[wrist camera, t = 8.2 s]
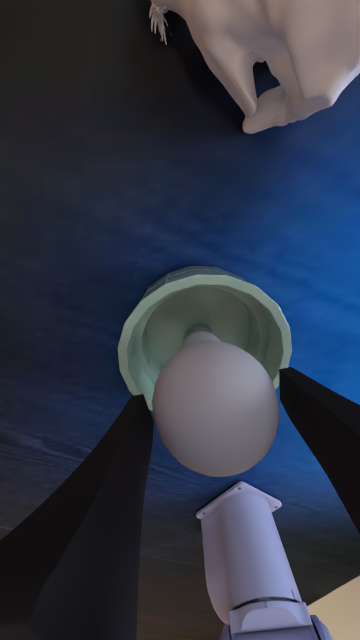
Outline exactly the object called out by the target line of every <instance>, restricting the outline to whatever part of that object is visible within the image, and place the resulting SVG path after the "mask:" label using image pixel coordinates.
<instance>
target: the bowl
mask: <svg viewBox="0 0 360 640" xmlns="http://www.w3.org/2000/svg"><path fill="white" fill-rule="evenodd" d="M197 324H202V325H206V326H208V327H209V328H210V329H211V330H212V332H213V333H214V335H215V336H216V337H218V338H219V340H220V341H221V342H224V343H228V344H231V345H234V346H237V347H239V348H241V349H243V350H244V351H246V352H247V353H249V354H250V355H251V356H253V357H254V358H255V359H256V360H257V361H258V362H259V363H260V364H261V365H262V366H263V367H264V369H265V370H266V372H267V373H268V375H269V377H270V378H271V380H272V382H273V385H274V388H275V390H276V389H277V387H278V386H279V369H282V368H288V365H289V361H290V357H291V354H292V345H291V335H290V328H289V325H288V323H287V321H286V319H285V317H284V315H283V313H282V311H281V309H280V307H279V305H277V303H276V302H275V301H273V300H272V299H271V298H270V297H269V296H268V295H266V294H265V293H264V292H263V291H262V290H261V289H260V288H258V287H257V286H255V285H254V284H252V283H250V282H248V281H247V280H245V279H243V278H241V277H240V276H238V275H236V274H234V273H231V272H228V271H226V270H223V269H220V268H218V267H214V266H192V267H191V266H189V267H186V268H183V269H179V270H176V271H173V272H170V273H168V274H166V275H165V276H163V277H162V278H160V279H159V280H158V281H156V282H155V283H153V284H152V285H151V286H150V287H149V288H148V289H147V291H146V292H145V293H144V295H143V296H142V298H141V299H140V300H139V302H138V303H137V305H136V306H135V308H134V309H133V311H132V312H131V314H130V315H129V317H128V319H127V320H126V322H125V324H124V326H123V330H122V334H121V337H120V341H119V344H118V357H119V367H120V372H121V374H122V376H123V378H124V381H125V383H126V385H127V387H128V389H129V391H130V392H131V393H132V394H133V395H140V394H144V397H145V400H146V402H147V405H148V408H149V410H151V411H153V405H152V399H153V393H154V387H155V383H156V381H157V379H158V376H159V374H160V372H161V370H162V368H163V367H164V366H165V364H166V363H167V362H168V360H169V359H170V358H172V357H173V356H174V355H175V354H176V353H177V352H179V351H180V350H181V346H182V344H183V342H184V335H185V333H186V331H187V329H189V328H190V327H191V326H193V325H197Z"/></svg>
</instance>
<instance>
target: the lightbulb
mask: <svg viewBox="0 0 360 640" xmlns="http://www.w3.org/2000/svg"><path fill="white" fill-rule="evenodd" d="M152 405H153V417H154V422H155V425H156V428H157V431H158V434H159V437H160V438H161V440H162V441H163V443H164V444H165V446H166V448H167V449H168V451H169V452H170V453H171V454H172V455H173V456H174V457H175V458H176V459H177V460H178V461H179V462H180V463H181V464H182V465H184V466H185V467H187V468H189V469H191V470H193V471H196V472H198V473H201V474H204V475H207V476H214V477H226V476H233V475H236V474H240V473H242V472H244V471H247V470H248V469H250V468H252V467H253V466H254V465H255V464H256V463H258V462H259V461H260V460H261V459H262V458H263V457H264V456H265V455H266V454H267V452H268V451H269V449H270V447H271V445H272V443H273V441H274V439H275V436H276V432H277V428H278V423H279V403H278V397H277V394H276V391H275V388H274V385H273V382H272V380H271V378H270V377H269V375H268V373H267V372H266V370H265V369H264V367H263V366H262V365H261V364H260V363H259V362H258V361H257V360H256V359H255V358H254V357H253V356H251V355H250V354H249V353H247V352H246V351H244V350H243V349H241V348H239V347H237V346H234V345H231V344H228V343H224V342H221V341H220V340H219V338H218V337H216V336H215V335H214V333H213V332H212V330H211V329H210V328H209V327H208V326H206V325H202V324H197V325H193V326H191V327H190V328H189V329H187V331H186V333H185V335H184V342H183V344H182V346H181V350H180V351H179V352H177V353H176V354H175V355H174V356H173V357H172V358H170V359H169V360H168V362H167V363H166V364H165V366H164V367H163V368H162V370H161V372H160V374H159V376H158V379H157V381H156V383H155V387H154V393H153V399H152Z"/></svg>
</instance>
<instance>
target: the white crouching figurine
mask: <svg viewBox="0 0 360 640" xmlns="http://www.w3.org/2000/svg"><path fill="white" fill-rule="evenodd" d="M151 2H152V5H151V7H150V14H149V16H151V14H152V12H153V14H152V19H151V30H152V28H153V21H154V22H155V23H154V29H155V33H156V25H157V22H158V28H159V26H160V30H159V32H161V37H162V41H163V35H164V40H165V43H166V36H165V31H164V28H165V27H164V25H163V19H165V18H163V17H164V15H163V13H167V12H168V10H171V11H173V12H176V13H178V14H179V15H180V16H181V17H182V18H183V19H184V20H185V21H186V22H187V25H188V27H189V30H190V33H191V35H192V38H193V40H194V42H195V44H196V45H197V47H198V48H199V49H200V51H201V53H202V55H203V57H204V60H205V62H206V64H207V65H208V67H209V69H210V70H211V71H212V73H213V74H214V75H215V76H216V77H217V78H218V79H219V81H220V82H221V83H222V84H223V86H224V87H225V88H226V90H227V91H228V92H229V94H230V95H231V97H232V98H233V99H234V101H235V102H236V103H237V104H238V105H239V107H240V108H241V109H242V111H243V112H244V114H245V119H244V121H243V131H244V132H245V133H248V134H253V133H256V132H259V131H262V130H265V129H267V128H270V127H273V126H285V125H287V124H288V123H293V122H295V121H297V120H304V119H306V118H307V117H309V116H310V115H311V114H313V113H315V112H317V111H319V110H322V109H325V108H328V107H330V106H332V105H333V104H334V102H335V101H336V100H337V98H338V96H339V95H340V93H341V92H342V91H343V89H344V88H345V87H346V86H347V85H348V84H349V83H350V82H351V81H352V80H353V79H354V78H355V77H356V76H357V75H358V74H359V73H360V0H151ZM164 21H165V22H166V20H164ZM166 24H167V22H166ZM167 26H168V24H167ZM165 29H166V28H165ZM162 32H163V34H162ZM167 32H168V31H167ZM170 33H171V32H170ZM171 35H172V34H171ZM160 39H161V38H160ZM166 45H167V43H166ZM257 61H258V62H260V63H262V62H264V61H266V62H267V64H268V66H269V69H270V71H271V74H272V75H273V76H275V77H276V78H277V79H278V81H279V83H280V85H281V86H278V87H276V88H273V89H270V90H268V91H266V92H264V93H263V94H262V95H261V96H260V97H259V98H258V99H257V96H256V91H255V83H254V76H253V65H254V64H255V63H256V62H257Z"/></svg>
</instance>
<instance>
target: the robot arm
mask: <svg viewBox="0 0 360 640" xmlns="http://www.w3.org/2000/svg"><path fill="white" fill-rule="evenodd" d="M279 384H280V400H281V402H282V404H283V406H284V408H285V410H286V412H287V414H288V416H289V418H290V420H291V421H292V423H293V424H294V426H295V427H296V429H297V430H298V432H299V433H300V435H301V436H302V438H303V439H304V441H305V442H306V444H307V445H308V447H309V448H310V450H311V451H312V453H313V454H314V456H315V457H316V459H317V460H318V462H319V463H320V465H321V466H322V468H323V470H324V471H325V473H326V474H327V476H328V478H329V479H330V481H331V483H332V485H333V486H334V488H335V490H336V492H337V494H338V495H339V497H340V499H341V501H342V502H343V504H344V506H345V508H346V510H347V512H348V514H349V515H350V517H351V519H352V521H353V523H354V525H355V526H356V528H357V530H358V532H359V534H360V405H358V404H356V403H354V402H352V401H350V400H348V399H347V398H345V397H343V396H341V395H339V394H337V393H335V392H334V391H332V390H330V389H328V388H326V387H325V386H323V385H321V384H319V383H318V382H316V381H314V380H313V379H311V378H309V377H307V376H306V375H304V374H302V373H301V372H299V371H297V370H296V369H294V368H292V367H288V368H282V369H279ZM152 442H153V419H152V416H151V413H150V411H149V408H148V405H147V402H146V400H145V397H144V394H140V395H134V396H132V397H131V399H130V400H129V402H128V403H127V404H126V406H125V407H124V409H123V410H122V412H121V413H120V415H119V416H118V417H117V419H116V420H115V422H114V423H113V424H112V426H111V427H110V429H109V430H108V431H107V433H106V434H105V435H104V436H103V438H102V439H101V440H100V442H99V443H98V444H97V445H96V447H95V448H94V449H93V450H92V452H91V453H90V454H89V455H88V456H87V458H86V459H85V460H84V461H83V462H82V463H81V464H80V466H79V467H78V468H77V469H76V470H75V471H74V472H73V473H72V474H71V475H70V476H69V477H68V478H67V479H66V480H65V481H64V482H63V483H62V484H61V485H60V486H59V488H58V489H57V490H56V491H55V492H54V493H53V494H52V495H51V496H50V497H49V498H48V499H46V500H45V501H44V502H43V503H42V504H41V505H40V506H39V507H38V508H37V509H36V510H35V511H34V512H33V513H31V514H30V515H29V516H28V517H27V518H26V519H25V520H24V521H23V522H21V523H20V524H19V525H18V526H17V527H16V528H15V529H13V530H12V531H11V532H10V533H9V534H8V535H6V536H5V537H4V538H3V539H2V540H0V640H136V630H137V598H138V577H139V557H140V541H141V526H142V513H143V502H144V494H145V487H146V481H147V474H148V468H149V462H150V455H151V449H152ZM281 506H282V504H281V501H279V500H277V499H275V498H273V497H272V496H270V495H268V494H266V493H264V492H262V491H260V490H258V489H256V488H254V487H252V486H251V485H249V484H247V483H245V482H243V481H240V482H238V483H237V484H235V485H234V486H232V487H231V488H230V489H228V490H227V491H226V492H224V493H223V494H221V495H220V496H219V497H217V498H216V499H215V500H213V501H212V502H210V503H209V504H208V505H206V506H205V507H203V508H202V509H201V510H199V511H198V512H197V513H196V517H197V518H199V519H201V527H202V539H203V551H204V563H205V575H206V584H207V589H208V593H209V596H210V600H211V602H212V605H213V607H214V610H215V612H216V613H217V615H218V616H219V618H220V619H221V620H222V621H223V622H224V623H225V624H226V625H224V627H223V632H222V634H221V637H220V640H333V639H332V637H331V635H330V633H329V631H328V629H327V627H326V626H325V625H324V624H323V623H322V622H321V621H320V620H319V619H318V617H317V616H316V615H309V613H308V609H307V607H306V604H305V602H302V601H301V598H300V595H299V592H298V589H297V586H296V583H295V580H294V577H293V574H292V571H291V569H290V566H289V563H288V560H287V557H286V554H285V551H284V548H283V545H282V542H281V539H280V537H279V534H278V531H277V528H276V525H275V522H274V519H273V516H272V513H271V512H273V511H275V510H276V509H278V508H280V507H281Z"/></svg>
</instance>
